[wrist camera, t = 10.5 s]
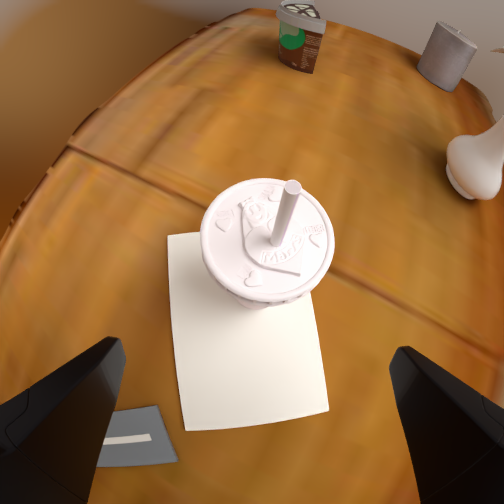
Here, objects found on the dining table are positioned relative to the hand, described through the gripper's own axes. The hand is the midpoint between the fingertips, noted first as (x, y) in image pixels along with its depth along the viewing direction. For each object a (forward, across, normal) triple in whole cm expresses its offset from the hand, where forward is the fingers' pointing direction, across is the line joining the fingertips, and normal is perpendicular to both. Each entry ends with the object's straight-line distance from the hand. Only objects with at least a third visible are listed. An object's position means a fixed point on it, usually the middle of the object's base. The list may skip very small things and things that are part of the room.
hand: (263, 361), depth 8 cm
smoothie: (+13, 0, +5) cm, 14 cm away
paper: (+11, 0, +7) cm, 13 cm away
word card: (+4, +10, +15) cm, 18 cm away
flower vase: (+23, -28, -5) cm, 37 cm away
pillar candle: (+45, -38, -27) cm, 65 cm away
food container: (+39, -5, -21) cm, 44 cm away
